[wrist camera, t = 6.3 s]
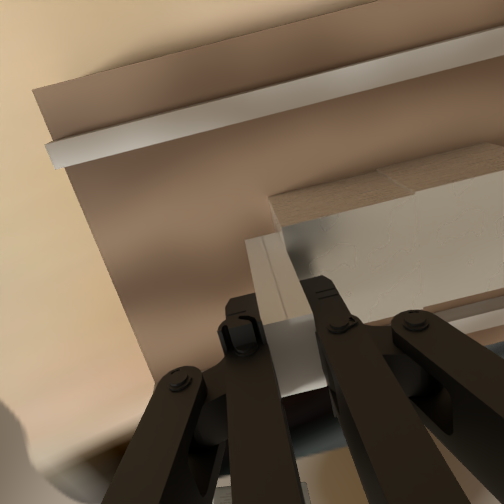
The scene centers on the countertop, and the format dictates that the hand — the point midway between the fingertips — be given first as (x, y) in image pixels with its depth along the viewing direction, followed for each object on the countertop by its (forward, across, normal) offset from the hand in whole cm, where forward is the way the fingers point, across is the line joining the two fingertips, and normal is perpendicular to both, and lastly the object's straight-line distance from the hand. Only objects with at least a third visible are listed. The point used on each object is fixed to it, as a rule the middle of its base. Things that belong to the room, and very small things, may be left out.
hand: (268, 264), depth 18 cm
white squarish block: (+2, +3, 0) cm, 4 cm away
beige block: (+2, +8, 0) cm, 8 cm away
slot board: (+6, +3, 0) cm, 6 cm away
